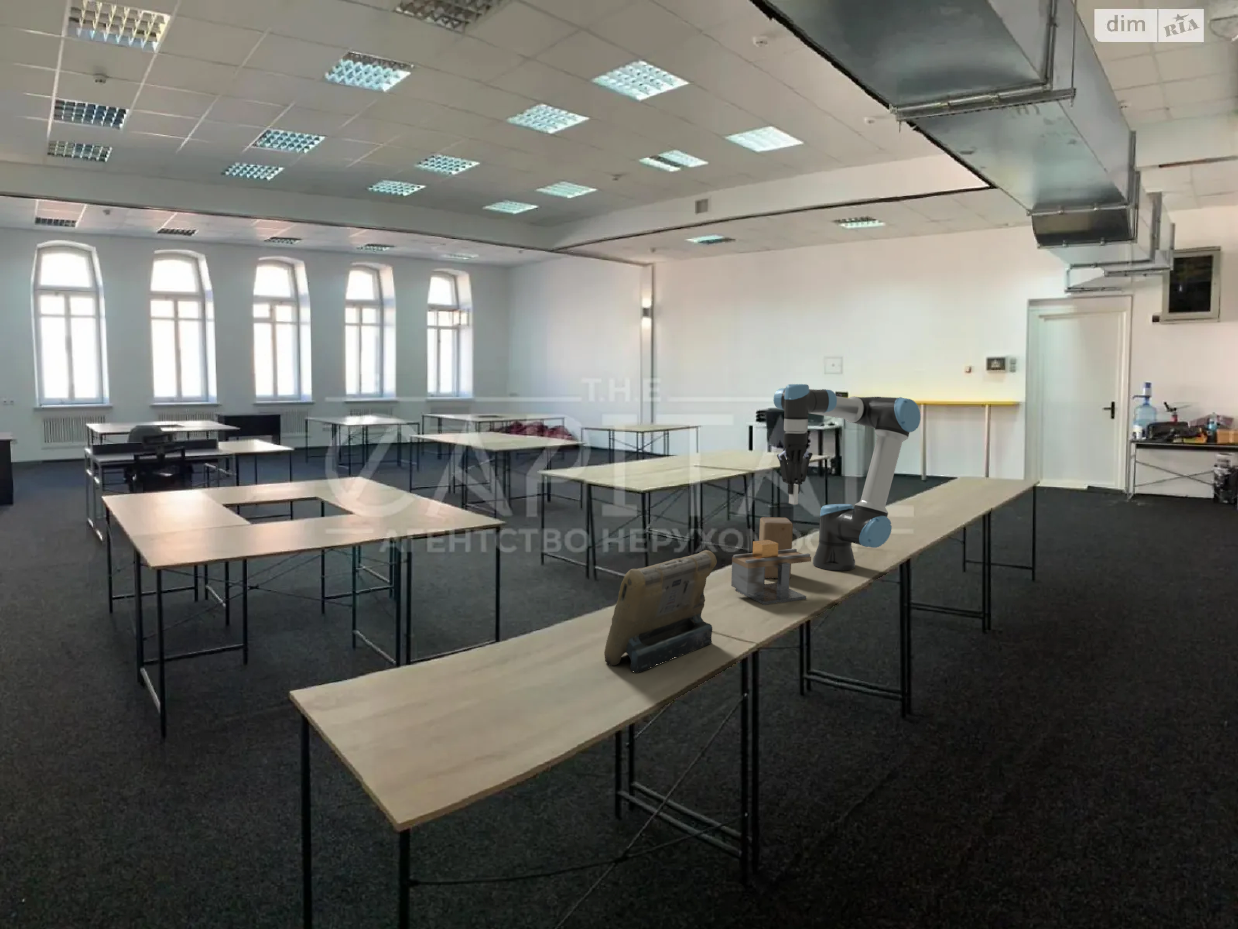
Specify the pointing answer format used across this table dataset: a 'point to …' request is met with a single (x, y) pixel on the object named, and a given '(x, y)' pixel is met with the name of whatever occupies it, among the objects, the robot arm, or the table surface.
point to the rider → (765, 549)
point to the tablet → (661, 612)
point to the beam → (759, 568)
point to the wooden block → (776, 538)
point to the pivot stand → (776, 589)
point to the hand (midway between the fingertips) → (793, 503)
